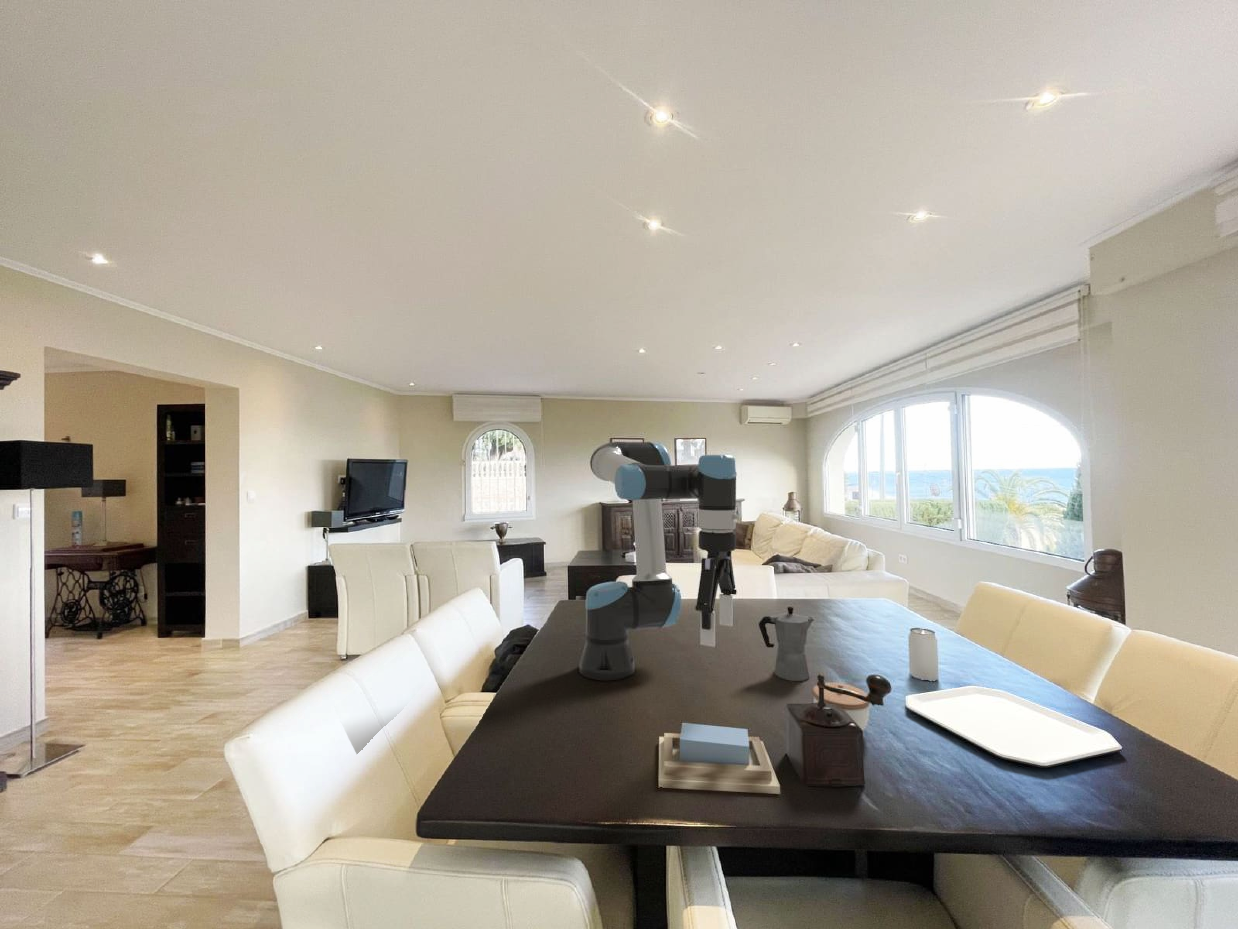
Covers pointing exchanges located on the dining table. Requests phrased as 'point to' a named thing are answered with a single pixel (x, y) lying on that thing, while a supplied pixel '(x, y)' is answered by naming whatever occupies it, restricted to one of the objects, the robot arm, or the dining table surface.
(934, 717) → the plate
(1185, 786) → the dining table surface
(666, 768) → the slot holder
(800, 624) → the coffeepot
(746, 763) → the blue block
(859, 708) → the lidded jar
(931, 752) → the dining table surface
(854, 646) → the dining table surface
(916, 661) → the can
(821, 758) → the coffee grinder
